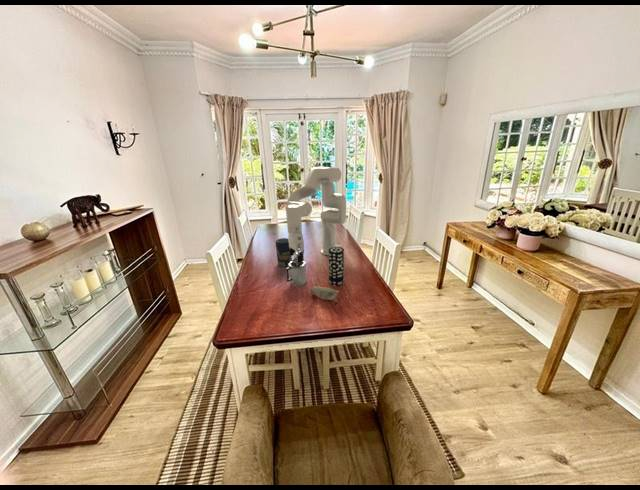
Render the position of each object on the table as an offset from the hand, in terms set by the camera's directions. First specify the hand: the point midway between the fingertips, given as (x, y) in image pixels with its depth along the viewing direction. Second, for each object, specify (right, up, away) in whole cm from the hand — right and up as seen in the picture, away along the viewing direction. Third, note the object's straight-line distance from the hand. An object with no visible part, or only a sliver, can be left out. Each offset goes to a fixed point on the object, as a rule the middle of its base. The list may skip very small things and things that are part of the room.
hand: (296, 258), depth 137 cm
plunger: (0, -12, +5) cm, 13 cm away
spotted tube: (+22, -14, +5) cm, 26 cm away
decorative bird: (+16, -21, -11) cm, 28 cm away
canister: (-10, -6, +28) cm, 30 cm away
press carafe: (-1, -14, +5) cm, 15 cm away
